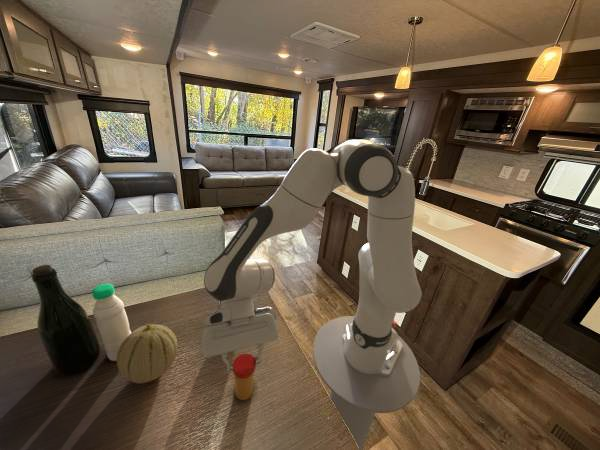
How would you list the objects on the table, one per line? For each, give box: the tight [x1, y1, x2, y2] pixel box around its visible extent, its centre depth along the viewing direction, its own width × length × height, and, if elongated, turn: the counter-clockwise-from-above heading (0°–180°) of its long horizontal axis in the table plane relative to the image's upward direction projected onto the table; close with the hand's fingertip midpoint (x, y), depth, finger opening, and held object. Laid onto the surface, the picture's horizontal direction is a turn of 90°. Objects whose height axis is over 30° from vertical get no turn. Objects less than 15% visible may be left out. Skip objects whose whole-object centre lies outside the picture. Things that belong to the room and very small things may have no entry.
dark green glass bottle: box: [31, 264, 102, 377], centre depth 67 cm, size 10×10×33 cm
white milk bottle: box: [91, 283, 132, 362], centre depth 72 cm, size 7×7×25 cm
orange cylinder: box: [234, 373, 254, 401], centre depth 67 cm, size 5×5×11 cm
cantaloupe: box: [116, 323, 179, 384], centre depth 70 cm, size 15×15×15 cm
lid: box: [232, 353, 257, 379], centre depth 65 cm, size 6×6×2 cm
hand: (244, 367), depth 64 cm, fingers closed on lid, 6 cm apart
